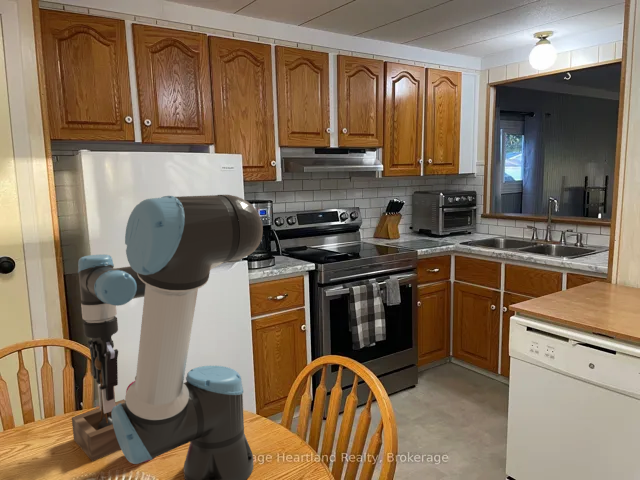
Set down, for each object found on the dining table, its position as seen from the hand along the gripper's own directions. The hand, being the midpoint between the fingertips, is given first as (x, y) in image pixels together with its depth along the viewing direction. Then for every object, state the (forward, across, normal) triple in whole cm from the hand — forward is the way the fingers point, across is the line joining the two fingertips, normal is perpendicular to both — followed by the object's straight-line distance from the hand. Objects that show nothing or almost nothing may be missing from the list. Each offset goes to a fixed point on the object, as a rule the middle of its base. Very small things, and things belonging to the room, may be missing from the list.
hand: (107, 409), depth 114 cm
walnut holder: (+8, 0, 0) cm, 8 cm away
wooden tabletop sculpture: (+6, 0, 0) cm, 6 cm away
